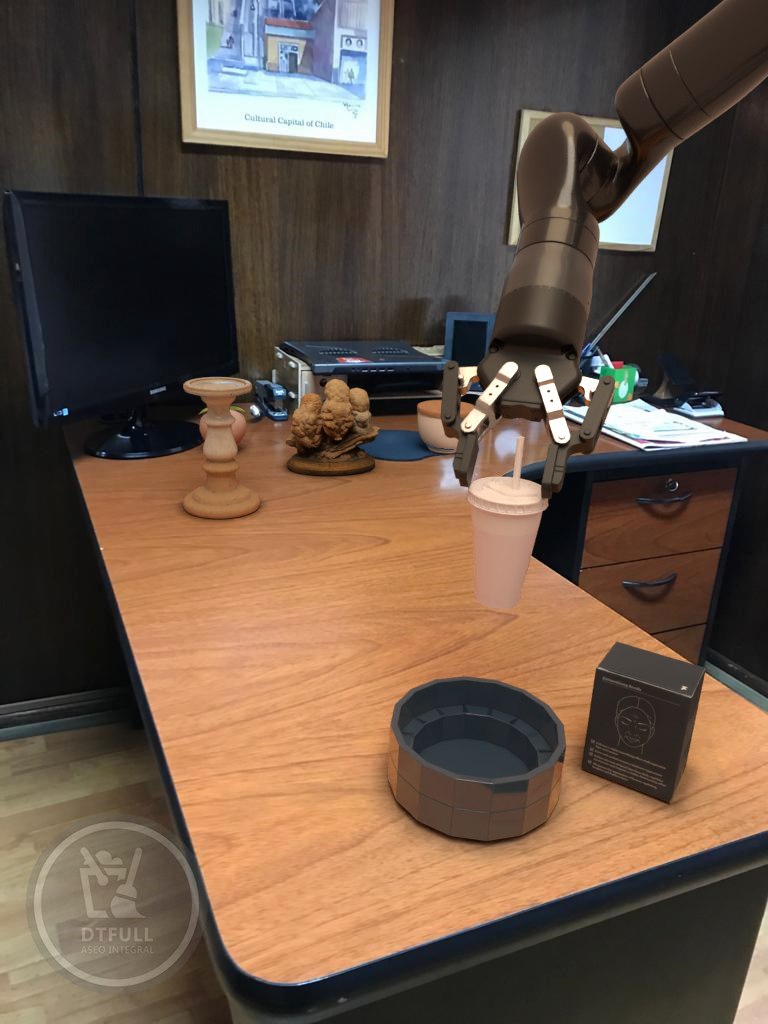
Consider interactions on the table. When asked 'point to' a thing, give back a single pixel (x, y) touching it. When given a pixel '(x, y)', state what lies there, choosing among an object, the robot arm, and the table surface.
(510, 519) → the smoothie
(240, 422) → the decorative fruit
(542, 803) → the bowl
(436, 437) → the lidded bowl
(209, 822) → the table surface
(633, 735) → the box
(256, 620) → the table surface
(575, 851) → the table surface
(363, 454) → the owl figurine
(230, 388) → the candle holder
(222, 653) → the table surface
